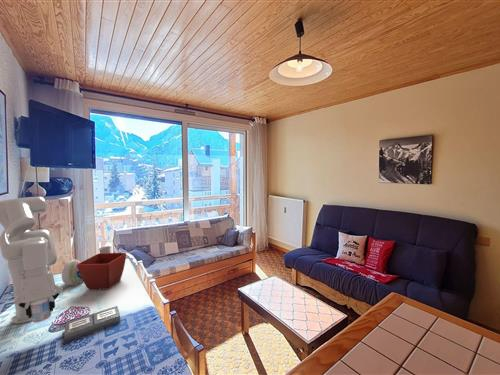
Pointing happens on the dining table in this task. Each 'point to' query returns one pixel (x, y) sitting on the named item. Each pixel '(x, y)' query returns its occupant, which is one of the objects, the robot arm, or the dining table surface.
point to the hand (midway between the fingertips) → (41, 312)
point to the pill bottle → (40, 310)
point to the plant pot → (102, 270)
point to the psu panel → (91, 323)
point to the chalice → (104, 249)
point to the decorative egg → (71, 273)
